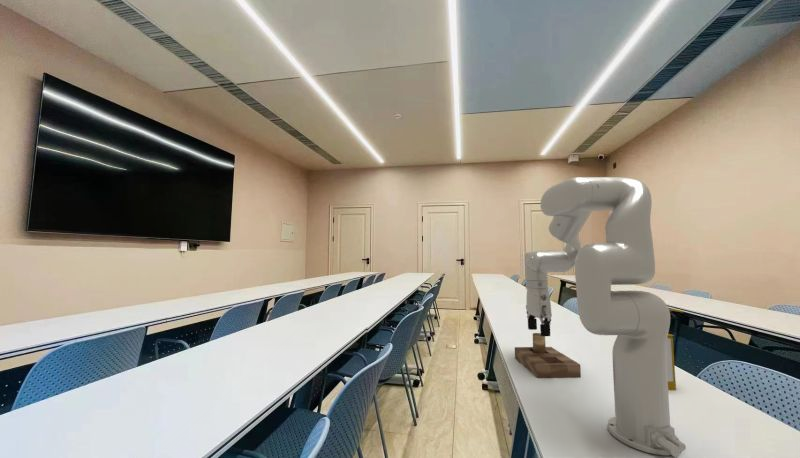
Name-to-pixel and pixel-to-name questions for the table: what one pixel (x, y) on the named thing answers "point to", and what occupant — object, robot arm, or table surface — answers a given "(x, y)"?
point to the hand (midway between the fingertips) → (538, 332)
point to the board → (548, 363)
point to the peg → (539, 343)
